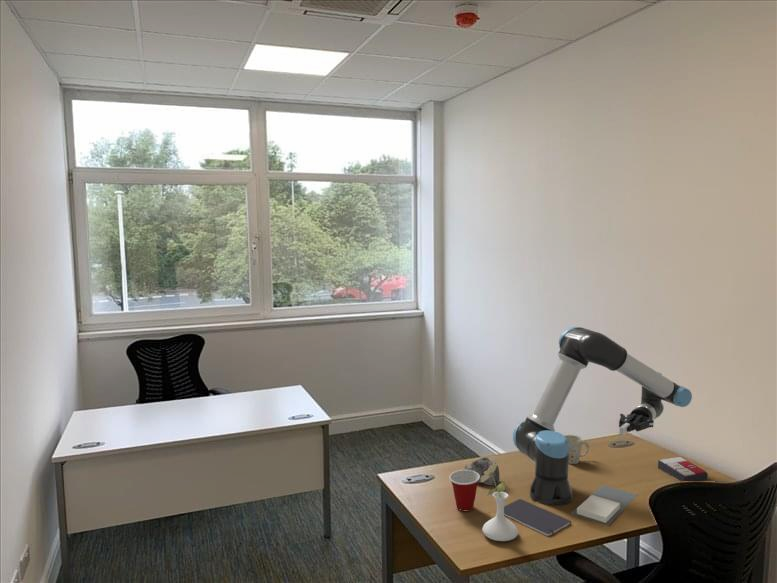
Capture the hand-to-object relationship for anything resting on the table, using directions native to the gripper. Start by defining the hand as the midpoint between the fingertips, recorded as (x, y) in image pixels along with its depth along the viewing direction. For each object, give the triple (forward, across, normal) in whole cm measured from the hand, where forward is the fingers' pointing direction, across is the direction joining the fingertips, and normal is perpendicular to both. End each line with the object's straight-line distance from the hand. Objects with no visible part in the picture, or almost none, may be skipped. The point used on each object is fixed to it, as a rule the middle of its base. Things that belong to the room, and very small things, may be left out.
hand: (621, 431), depth 215 cm
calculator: (-33, -13, -24) cm, 43 cm away
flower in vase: (+55, +19, -24) cm, 63 cm away
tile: (+14, 0, -22) cm, 26 cm away
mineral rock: (+23, +45, -24) cm, 56 cm away
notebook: (+37, +16, -25) cm, 48 cm away
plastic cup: (+46, +38, -24) cm, 65 cm away
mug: (-19, +25, -24) cm, 39 cm away
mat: (+13, 0, -24) cm, 27 cm away
